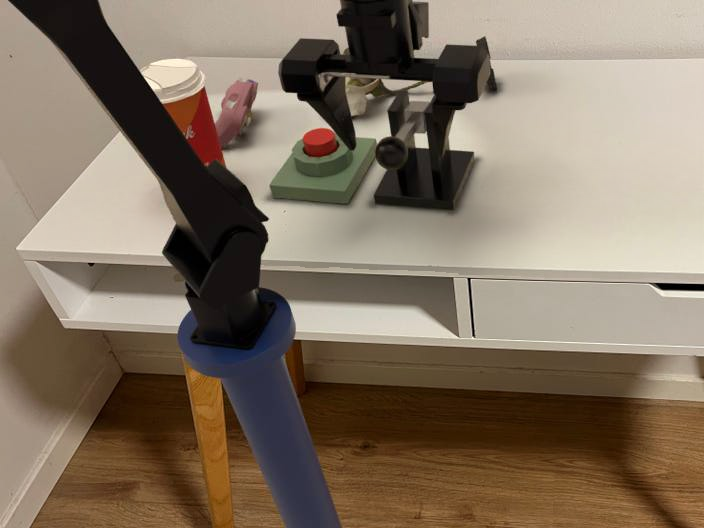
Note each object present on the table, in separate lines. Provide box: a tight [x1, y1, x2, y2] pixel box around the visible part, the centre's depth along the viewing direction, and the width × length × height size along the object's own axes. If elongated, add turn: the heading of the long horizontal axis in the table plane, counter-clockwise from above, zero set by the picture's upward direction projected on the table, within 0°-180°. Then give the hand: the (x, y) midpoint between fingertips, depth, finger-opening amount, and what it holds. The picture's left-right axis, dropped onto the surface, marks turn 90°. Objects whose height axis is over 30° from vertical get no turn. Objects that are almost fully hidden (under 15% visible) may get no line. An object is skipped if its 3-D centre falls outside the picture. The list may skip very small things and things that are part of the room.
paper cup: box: [139, 58, 227, 168], centre depth 86 cm, size 8×8×14 cm
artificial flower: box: [342, 35, 498, 117], centre depth 100 cm, size 9×22×10 cm, turn 96°
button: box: [302, 127, 337, 157], centre depth 89 cm, size 4×4×2 cm
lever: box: [375, 100, 431, 171], centre depth 80 cm, size 12×3×3 cm, turn 167°
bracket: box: [373, 89, 475, 211], centre depth 86 cm, size 10×9×10 cm
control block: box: [269, 132, 378, 205], centre depth 90 cm, size 11×9×4 cm
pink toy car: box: [214, 76, 259, 148], centre depth 98 cm, size 10×5×7 cm, turn 179°
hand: (397, 151), depth 78 cm, fingers open, 9 cm apart
